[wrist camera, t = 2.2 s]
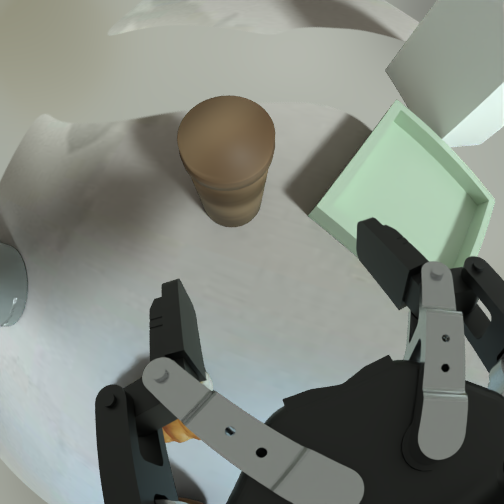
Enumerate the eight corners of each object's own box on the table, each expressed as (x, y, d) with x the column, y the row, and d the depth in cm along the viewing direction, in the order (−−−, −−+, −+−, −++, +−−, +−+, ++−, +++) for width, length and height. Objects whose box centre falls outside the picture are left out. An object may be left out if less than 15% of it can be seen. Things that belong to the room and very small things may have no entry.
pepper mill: (190, 203, 24) (155, 141, 13) (228, 161, 25) (221, 81, 14) (236, 240, 24) (231, 199, 13) (274, 195, 25) (297, 127, 14)
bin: (308, 216, 24) (316, 206, 21) (385, 113, 26) (396, 99, 24) (427, 321, 24) (446, 324, 21) (479, 206, 26) (495, 200, 23)
